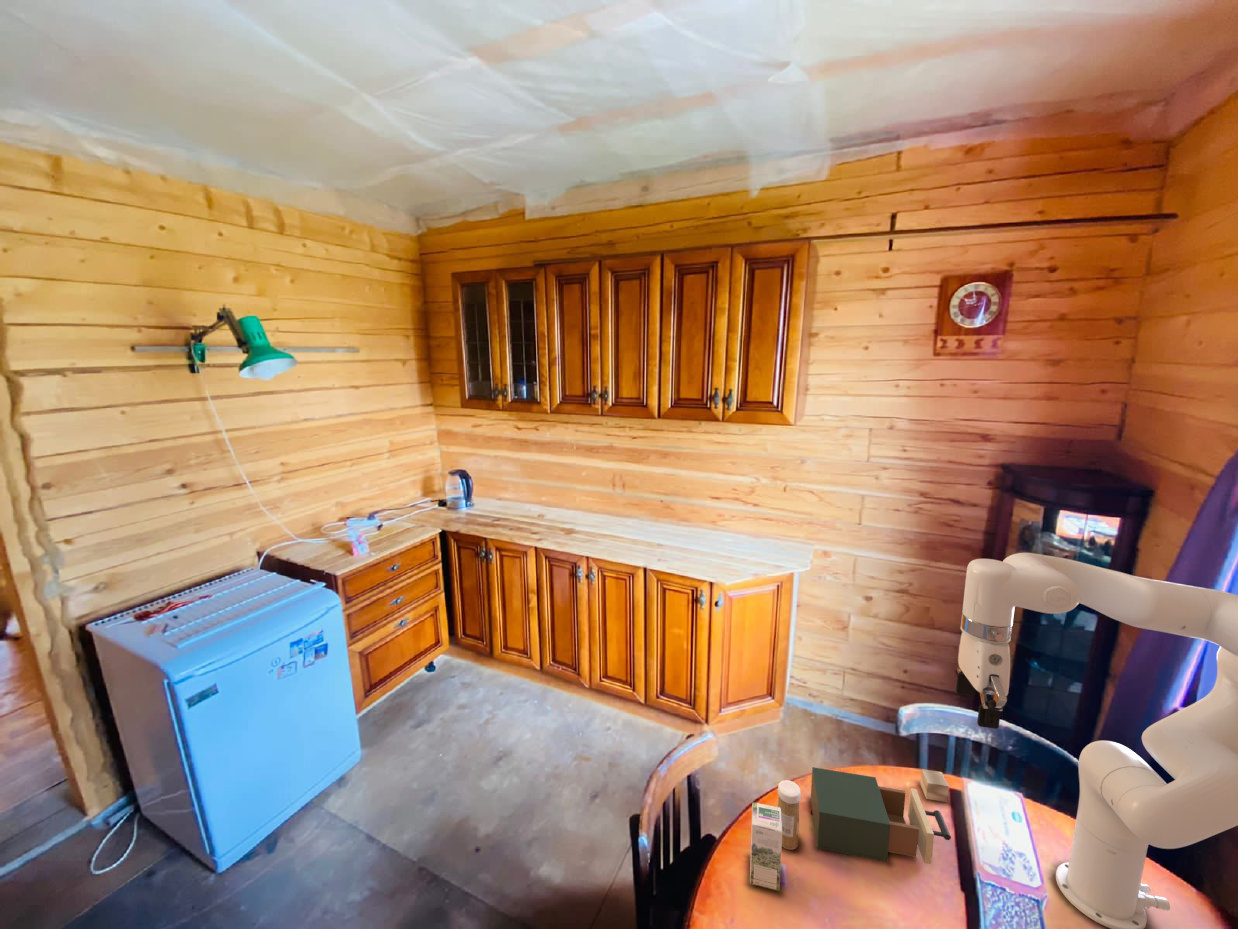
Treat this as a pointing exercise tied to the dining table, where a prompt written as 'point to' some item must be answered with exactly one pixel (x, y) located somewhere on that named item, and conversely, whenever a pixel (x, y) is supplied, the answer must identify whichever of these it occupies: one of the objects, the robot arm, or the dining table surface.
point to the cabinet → (849, 814)
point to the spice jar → (789, 812)
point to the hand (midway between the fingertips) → (975, 709)
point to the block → (934, 785)
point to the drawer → (920, 829)
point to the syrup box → (766, 846)
